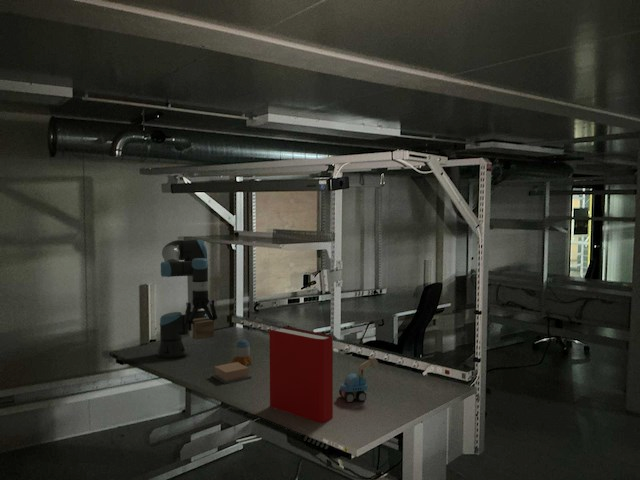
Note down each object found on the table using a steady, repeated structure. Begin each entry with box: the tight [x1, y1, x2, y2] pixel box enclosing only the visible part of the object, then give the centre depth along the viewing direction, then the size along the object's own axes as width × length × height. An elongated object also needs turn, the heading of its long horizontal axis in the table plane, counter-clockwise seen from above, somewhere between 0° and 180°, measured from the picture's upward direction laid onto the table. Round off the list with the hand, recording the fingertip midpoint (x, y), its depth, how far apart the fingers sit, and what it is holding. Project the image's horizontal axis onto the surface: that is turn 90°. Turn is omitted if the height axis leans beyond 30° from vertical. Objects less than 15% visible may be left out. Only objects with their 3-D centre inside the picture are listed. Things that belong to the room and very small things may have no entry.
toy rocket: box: [231, 339, 253, 367], centre depth 261 cm, size 10×11×15 cm
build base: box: [211, 361, 252, 385], centre depth 245 cm, size 14×14×5 cm
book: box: [268, 325, 334, 424], centre depth 201 cm, size 27×8×32 cm, turn 51°
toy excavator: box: [338, 356, 379, 403], centre depth 216 cm, size 9×17×17 cm, turn 107°
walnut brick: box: [187, 317, 215, 341], centre depth 248 cm, size 10×9×8 cm
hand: (200, 335), depth 248 cm, fingers closed on walnut brick, 9 cm apart
